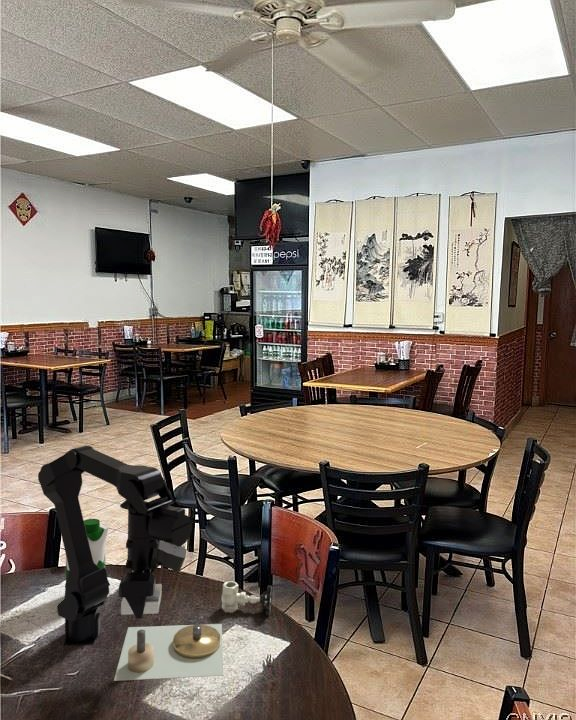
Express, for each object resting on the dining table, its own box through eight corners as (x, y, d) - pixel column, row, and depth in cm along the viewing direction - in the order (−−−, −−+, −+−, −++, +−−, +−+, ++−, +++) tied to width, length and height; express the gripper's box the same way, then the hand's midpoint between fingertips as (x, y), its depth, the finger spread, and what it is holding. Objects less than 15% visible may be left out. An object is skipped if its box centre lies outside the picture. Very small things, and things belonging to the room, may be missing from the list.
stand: (126, 673, 109) (126, 639, 108) (129, 657, 114) (130, 625, 113) (152, 672, 110) (152, 638, 109) (154, 656, 115) (155, 624, 114)
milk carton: (80, 611, 131) (80, 529, 129) (58, 598, 136) (58, 519, 135) (111, 596, 138) (112, 519, 136) (89, 584, 143) (90, 510, 142)
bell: (171, 660, 114) (171, 642, 113) (174, 631, 124) (175, 615, 123) (220, 657, 115) (220, 640, 115) (219, 630, 125) (220, 613, 125)
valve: (218, 617, 131) (269, 620, 130) (219, 590, 130) (270, 594, 130) (223, 602, 137) (271, 606, 137) (224, 577, 137) (272, 580, 136)
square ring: (121, 614, 107) (121, 602, 107) (126, 596, 114) (126, 584, 114) (158, 613, 108) (158, 601, 108) (161, 594, 115) (161, 583, 114)
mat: (113, 682, 107) (113, 680, 107) (128, 629, 125) (128, 627, 125) (223, 677, 110) (223, 675, 110) (221, 625, 127) (222, 623, 127)
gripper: (181, 552, 101) (179, 633, 103) (186, 514, 120) (185, 583, 121) (118, 553, 100) (117, 636, 101) (133, 515, 118) (132, 585, 120)
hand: (141, 608), depth 111 cm, fingers closed on square ring, 7 cm apart
